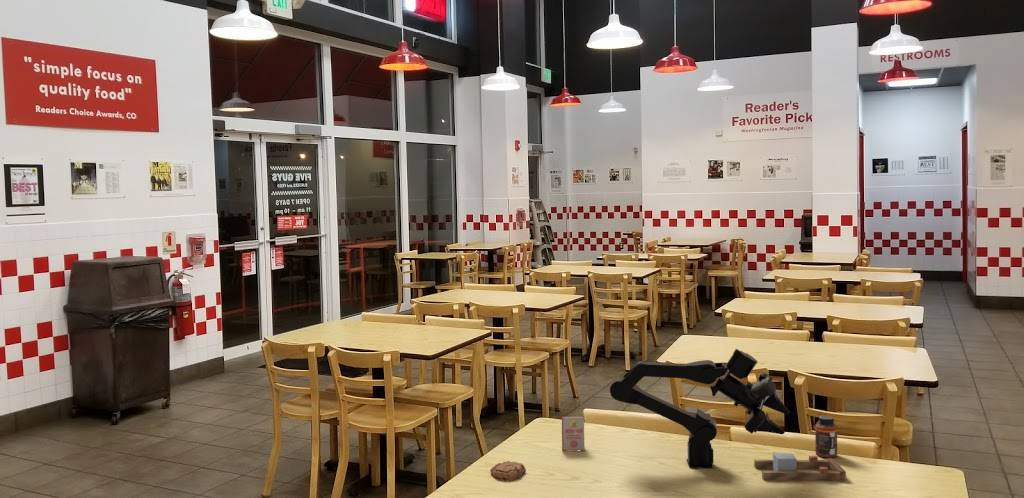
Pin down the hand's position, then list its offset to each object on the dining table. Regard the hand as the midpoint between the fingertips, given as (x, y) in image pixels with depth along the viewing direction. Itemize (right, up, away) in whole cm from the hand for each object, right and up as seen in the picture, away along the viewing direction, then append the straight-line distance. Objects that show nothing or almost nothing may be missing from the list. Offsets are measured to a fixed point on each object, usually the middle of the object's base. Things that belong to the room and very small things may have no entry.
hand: (786, 423), depth 221 cm
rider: (-1, -13, -2) cm, 14 cm away
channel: (+2, -13, -3) cm, 14 cm away
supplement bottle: (+16, -12, +12) cm, 24 cm away
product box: (-57, -13, +23) cm, 63 cm away
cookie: (-77, -15, +2) cm, 79 cm away
